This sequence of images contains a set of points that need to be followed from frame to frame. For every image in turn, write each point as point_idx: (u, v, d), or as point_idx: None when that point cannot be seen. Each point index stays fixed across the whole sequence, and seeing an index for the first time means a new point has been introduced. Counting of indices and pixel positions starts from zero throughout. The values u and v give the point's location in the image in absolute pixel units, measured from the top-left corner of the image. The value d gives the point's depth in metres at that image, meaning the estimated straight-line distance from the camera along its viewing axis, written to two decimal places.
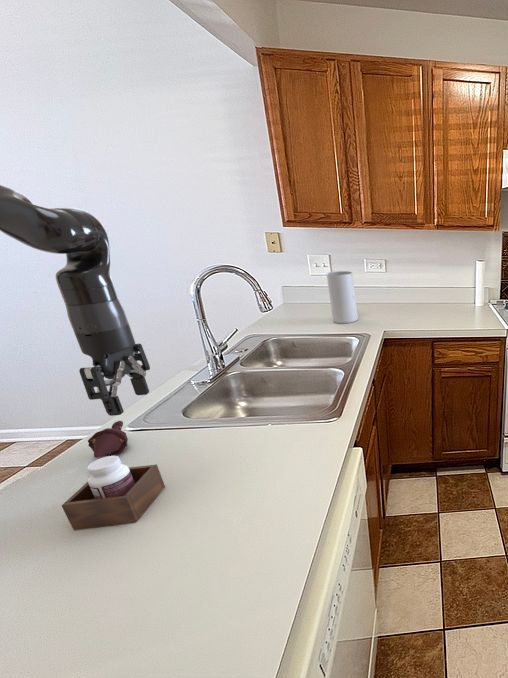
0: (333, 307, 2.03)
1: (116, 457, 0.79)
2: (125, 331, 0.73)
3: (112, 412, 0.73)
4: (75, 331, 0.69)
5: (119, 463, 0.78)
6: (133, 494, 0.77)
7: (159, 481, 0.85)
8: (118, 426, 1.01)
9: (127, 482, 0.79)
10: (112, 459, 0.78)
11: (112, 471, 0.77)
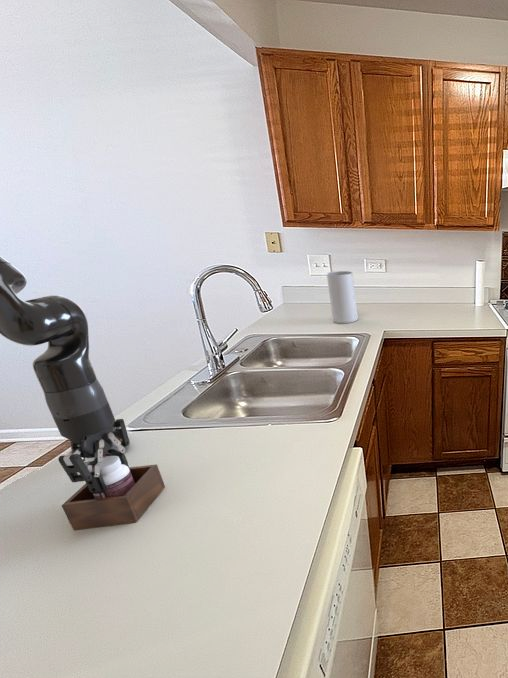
0: (333, 307, 2.03)
1: (116, 457, 0.79)
2: (104, 411, 0.73)
3: (95, 491, 0.74)
4: (53, 416, 0.69)
5: (119, 463, 0.78)
6: (133, 494, 0.77)
7: (159, 481, 0.85)
8: None
9: (127, 482, 0.79)
10: (112, 459, 0.78)
11: (111, 471, 0.77)
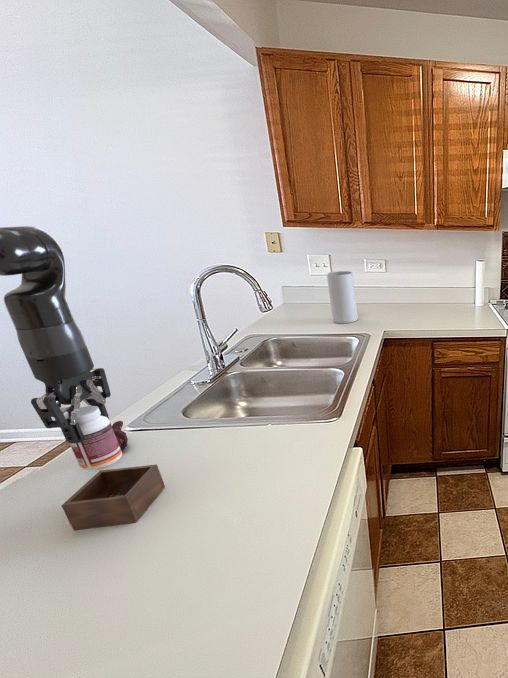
0: (333, 307, 2.03)
1: (95, 407, 0.74)
2: (81, 355, 0.69)
3: (72, 440, 0.70)
4: (26, 356, 0.65)
5: (98, 413, 0.74)
6: (133, 494, 0.77)
7: (159, 481, 0.85)
8: (118, 426, 1.01)
9: (107, 433, 0.75)
10: (91, 409, 0.74)
11: (90, 420, 0.72)
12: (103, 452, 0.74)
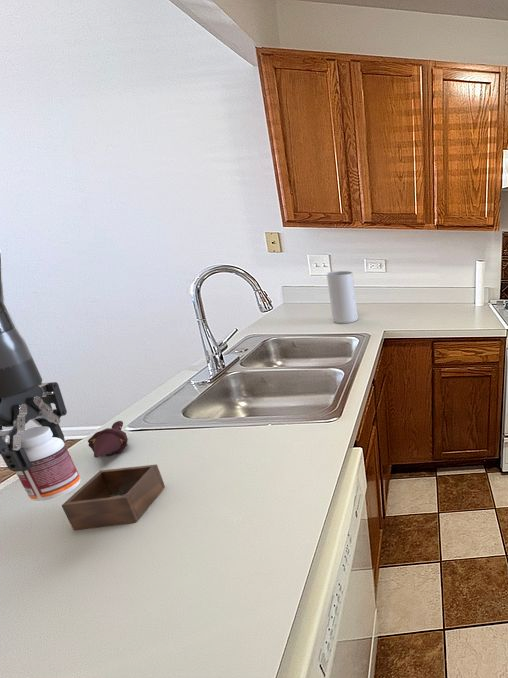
0: (333, 307, 2.03)
1: (46, 428, 0.64)
2: (25, 368, 0.59)
3: (16, 468, 0.60)
4: None
5: (49, 435, 0.64)
6: (133, 494, 0.77)
7: (159, 481, 0.85)
8: (118, 426, 1.01)
9: (60, 458, 0.64)
10: (41, 430, 0.63)
11: (39, 444, 0.62)
12: (55, 480, 0.64)
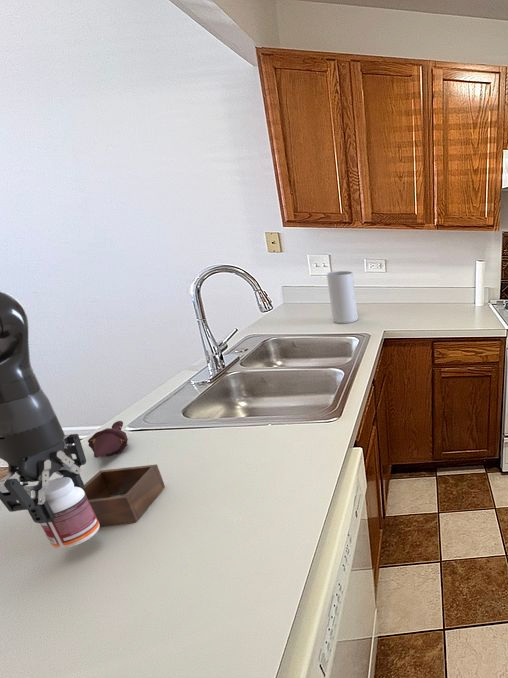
0: (333, 307, 2.03)
1: (68, 479, 0.67)
2: (49, 427, 0.62)
3: (40, 520, 0.63)
4: None
5: (71, 486, 0.67)
6: (133, 494, 0.77)
7: (159, 481, 0.85)
8: (118, 426, 1.01)
9: (81, 508, 0.68)
10: (63, 481, 0.67)
11: (61, 496, 0.65)
12: (76, 529, 0.67)
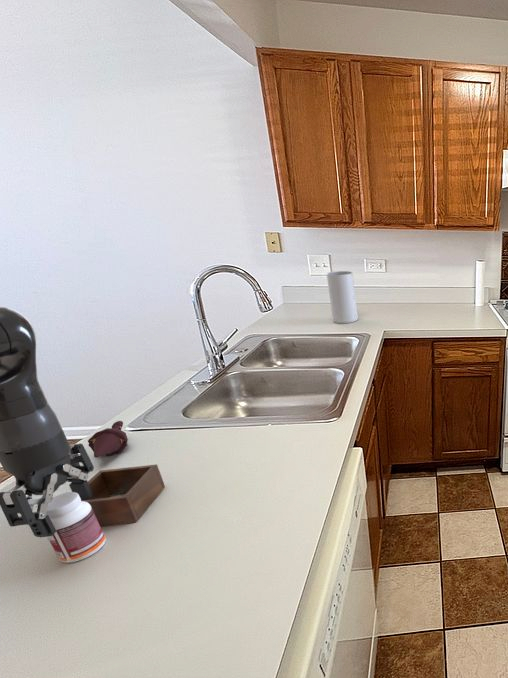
0: (333, 307, 2.03)
1: (75, 494, 0.69)
2: (56, 441, 0.63)
3: (41, 535, 0.63)
4: None
5: (78, 501, 0.68)
6: (133, 494, 0.77)
7: (159, 481, 0.85)
8: (118, 426, 1.01)
9: (88, 522, 0.69)
10: (70, 497, 0.68)
11: (69, 511, 0.67)
12: (83, 543, 0.68)
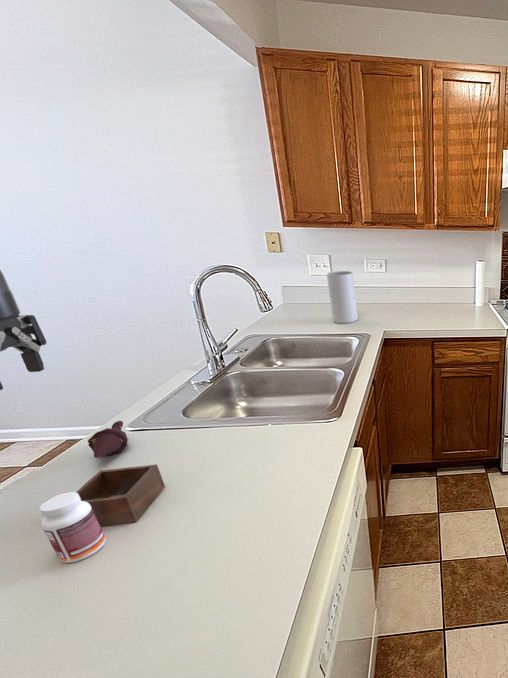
0: (333, 307, 2.03)
1: (75, 494, 0.69)
2: (3, 298, 0.66)
3: None
4: None
5: (78, 501, 0.68)
6: (133, 494, 0.77)
7: (159, 481, 0.85)
8: (118, 426, 1.01)
9: (88, 522, 0.69)
10: (70, 497, 0.68)
11: (69, 511, 0.67)
12: (83, 543, 0.68)
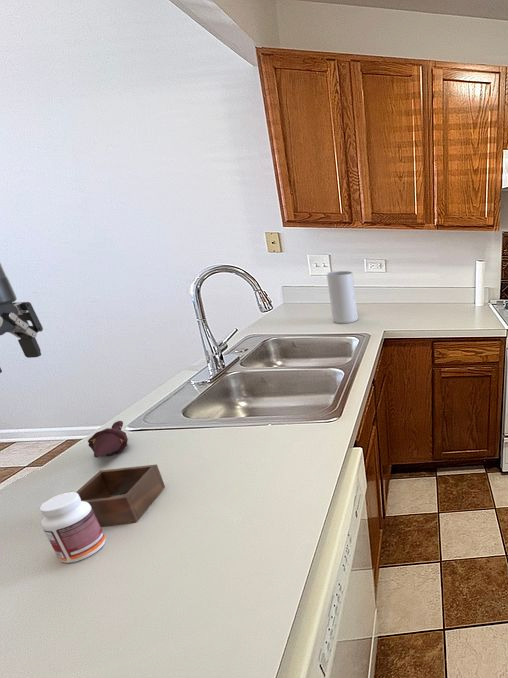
0: (333, 307, 2.03)
1: (75, 494, 0.69)
2: (0, 284, 0.68)
3: None
4: None
5: (78, 501, 0.68)
6: (133, 494, 0.77)
7: (159, 481, 0.85)
8: (118, 426, 1.01)
9: (88, 522, 0.69)
10: (70, 497, 0.68)
11: (69, 511, 0.67)
12: (83, 543, 0.68)
